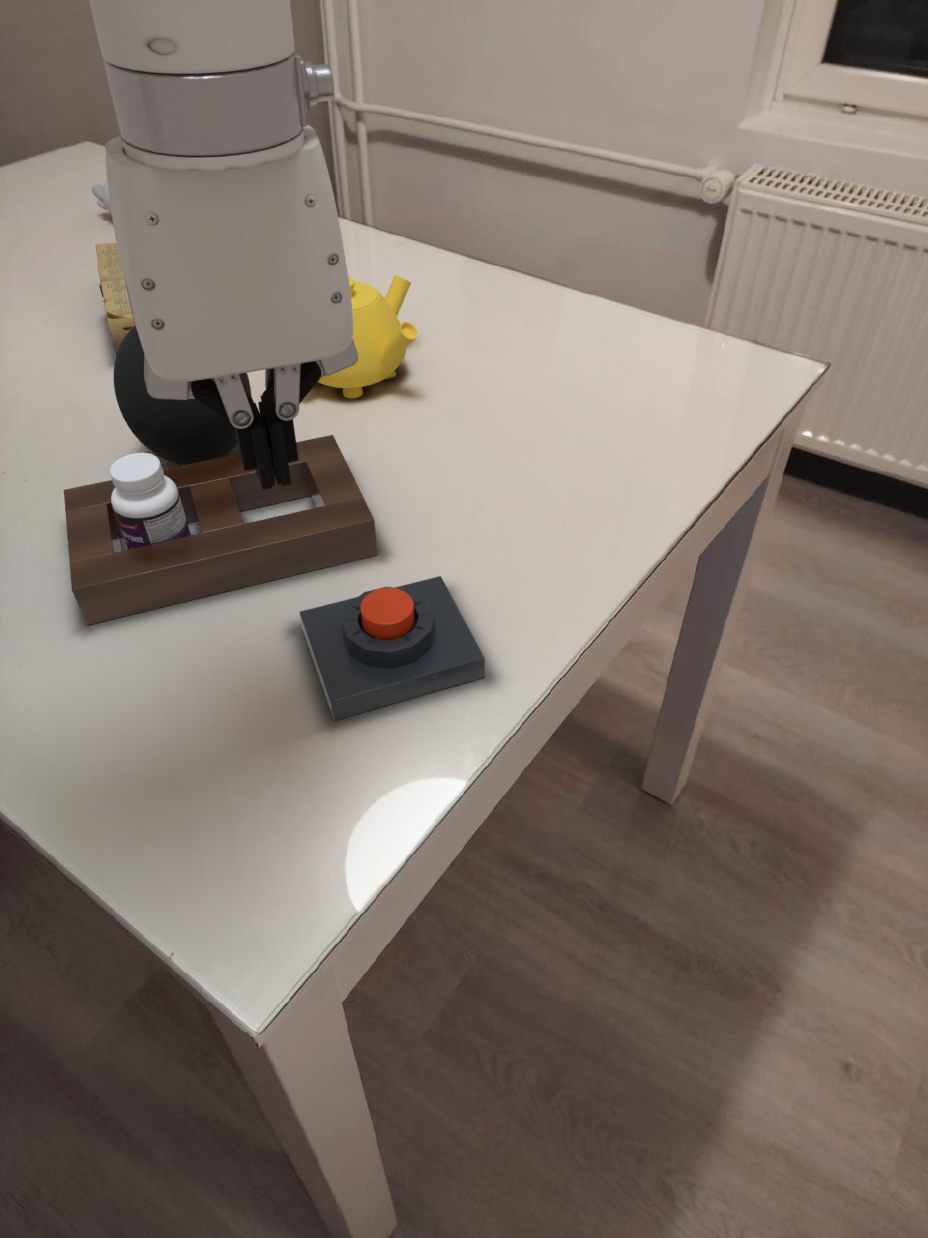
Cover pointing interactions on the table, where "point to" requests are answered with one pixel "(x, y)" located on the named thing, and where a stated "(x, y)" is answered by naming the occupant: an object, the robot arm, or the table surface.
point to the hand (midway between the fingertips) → (271, 473)
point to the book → (114, 292)
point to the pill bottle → (146, 501)
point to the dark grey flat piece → (391, 651)
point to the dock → (218, 534)
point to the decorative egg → (168, 413)
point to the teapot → (374, 337)
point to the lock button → (387, 613)
